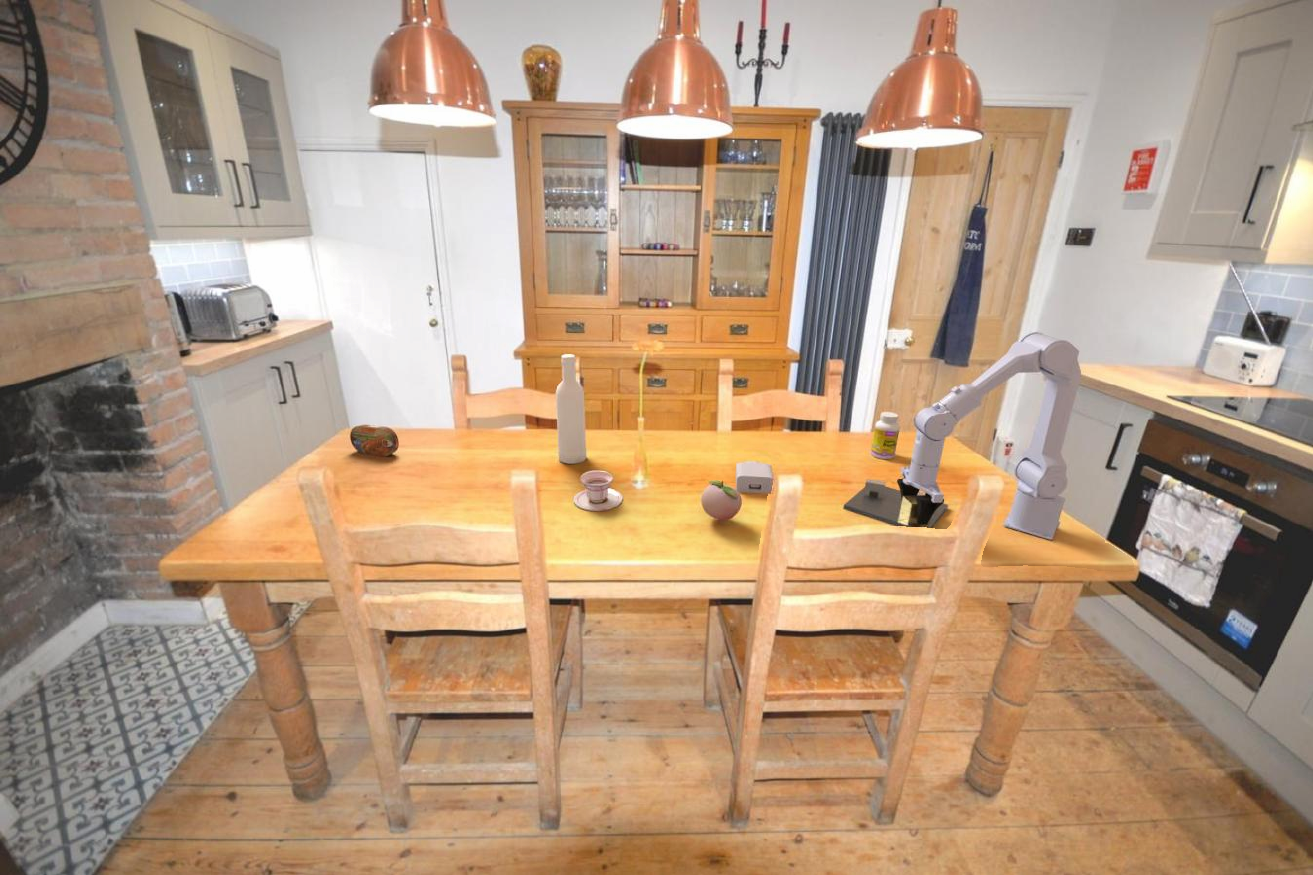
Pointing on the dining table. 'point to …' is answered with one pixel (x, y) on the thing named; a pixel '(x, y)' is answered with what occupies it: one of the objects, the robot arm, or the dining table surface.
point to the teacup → (597, 492)
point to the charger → (754, 477)
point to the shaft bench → (885, 505)
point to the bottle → (570, 415)
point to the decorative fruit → (721, 501)
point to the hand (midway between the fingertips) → (914, 516)
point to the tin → (374, 440)
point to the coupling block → (909, 509)
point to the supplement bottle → (885, 436)
